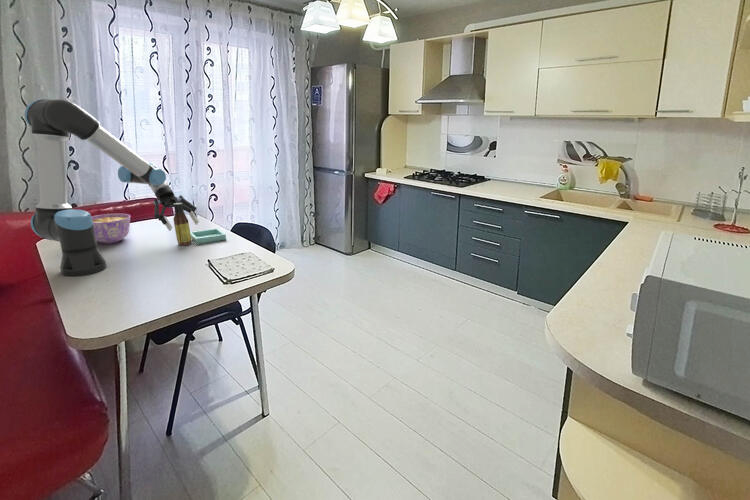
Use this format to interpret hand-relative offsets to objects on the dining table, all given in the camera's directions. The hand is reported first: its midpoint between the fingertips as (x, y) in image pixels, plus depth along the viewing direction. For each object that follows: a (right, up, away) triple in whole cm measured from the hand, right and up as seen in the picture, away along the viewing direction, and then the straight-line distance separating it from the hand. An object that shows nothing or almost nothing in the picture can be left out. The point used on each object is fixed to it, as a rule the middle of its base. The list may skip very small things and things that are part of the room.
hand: (184, 226), depth 200 cm
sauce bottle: (-1, -9, +3) cm, 10 cm away
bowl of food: (-39, -7, +7) cm, 40 cm away
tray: (+6, -6, +12) cm, 15 cm away
